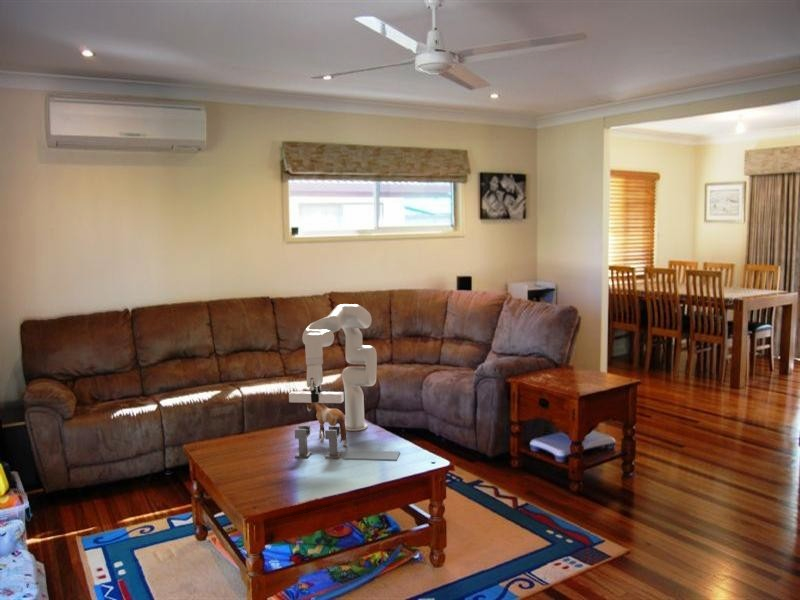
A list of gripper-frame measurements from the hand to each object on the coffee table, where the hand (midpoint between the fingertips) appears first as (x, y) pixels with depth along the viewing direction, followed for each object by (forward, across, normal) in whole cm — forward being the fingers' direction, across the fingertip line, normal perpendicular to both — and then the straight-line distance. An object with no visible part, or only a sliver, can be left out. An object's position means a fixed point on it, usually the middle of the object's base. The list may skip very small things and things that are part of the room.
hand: (316, 400), depth 299 cm
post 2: (+25, +1, +7) cm, 26 cm away
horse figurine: (+26, -15, -1) cm, 30 cm away
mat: (+26, -1, +24) cm, 35 cm away
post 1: (+25, +1, -7) cm, 26 cm away
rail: (0, 0, 0) cm, 0 cm away
